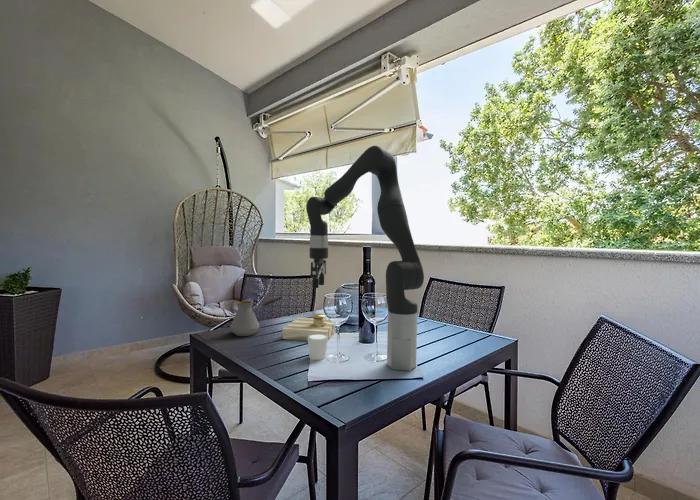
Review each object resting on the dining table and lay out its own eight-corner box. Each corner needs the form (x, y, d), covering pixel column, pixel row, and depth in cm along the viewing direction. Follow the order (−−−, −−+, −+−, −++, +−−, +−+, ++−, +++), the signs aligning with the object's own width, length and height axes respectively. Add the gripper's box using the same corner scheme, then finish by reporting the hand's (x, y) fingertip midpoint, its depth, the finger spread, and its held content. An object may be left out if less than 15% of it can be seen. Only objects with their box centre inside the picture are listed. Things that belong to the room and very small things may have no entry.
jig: (326, 342, 133) (327, 331, 133) (282, 338, 137) (282, 328, 137) (337, 329, 151) (337, 320, 151) (298, 326, 155) (298, 317, 154)
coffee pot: (227, 338, 137) (227, 300, 136) (232, 330, 148) (232, 295, 147) (283, 336, 140) (283, 299, 140) (283, 328, 152) (284, 294, 151)
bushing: (323, 336, 140) (323, 317, 140) (309, 335, 141) (309, 316, 141) (327, 332, 146) (327, 313, 145) (313, 331, 147) (314, 313, 146)
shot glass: (309, 361, 113) (309, 340, 113) (305, 354, 120) (306, 334, 120) (329, 359, 115) (329, 338, 115) (325, 352, 122) (325, 332, 121)
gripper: (323, 247, 134) (322, 289, 135) (332, 246, 148) (331, 284, 149) (304, 247, 135) (304, 288, 136) (315, 246, 149) (314, 283, 150)
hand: (318, 286), depth 142 cm, fingers open, 8 cm apart
